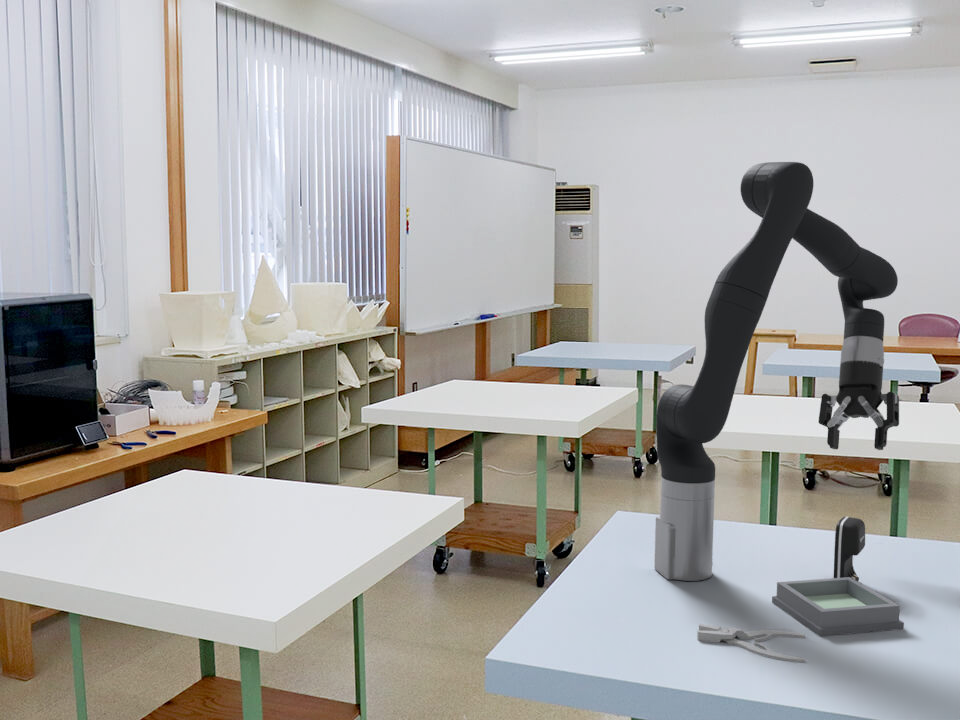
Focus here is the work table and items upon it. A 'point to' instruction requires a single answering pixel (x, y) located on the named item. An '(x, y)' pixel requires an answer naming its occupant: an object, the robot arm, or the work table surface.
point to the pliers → (729, 635)
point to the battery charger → (848, 546)
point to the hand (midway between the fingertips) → (856, 448)
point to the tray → (837, 606)
